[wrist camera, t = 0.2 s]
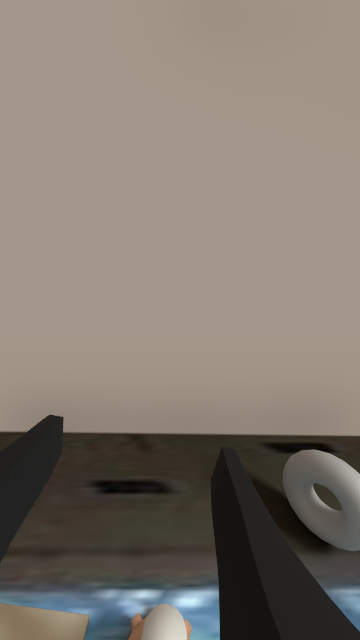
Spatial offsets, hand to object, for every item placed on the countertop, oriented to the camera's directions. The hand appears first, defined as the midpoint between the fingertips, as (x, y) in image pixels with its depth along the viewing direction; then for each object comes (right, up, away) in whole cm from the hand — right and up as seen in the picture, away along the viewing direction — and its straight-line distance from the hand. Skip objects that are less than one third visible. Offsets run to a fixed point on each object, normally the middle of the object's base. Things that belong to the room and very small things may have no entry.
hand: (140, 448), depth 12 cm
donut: (+17, -19, +19) cm, 32 cm away
